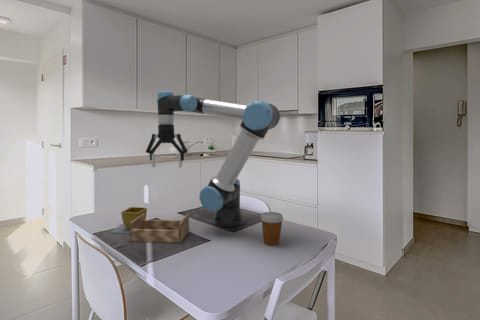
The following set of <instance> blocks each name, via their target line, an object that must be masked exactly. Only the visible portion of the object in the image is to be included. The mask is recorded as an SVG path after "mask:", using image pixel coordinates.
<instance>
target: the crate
mask: <svg viewBox="0 0 480 320" xmlns="http://www.w3.org/2000/svg"><path fill="white" fill-rule="evenodd" d="M189 232H190V214H186V215H185V216H183V218H182V219H181V220H175V219H174V220H172V219H171V220H169V219H145V213H143V214H141V215H140V216H138V217H137V218H136V219H134V220H133V221H131V222H130V234H129V241H130V242H143V243H144V242H145V243H146V242H148V243H149V242H150V243H178V244H179V243H180V244H181V243H182V242H183V241H184V239H185V237H186V236H187V234H188V233H189Z"/></svg>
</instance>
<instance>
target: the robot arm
mask: <svg viewBox="0 0 480 320" xmlns="http://www.w3.org/2000/svg"><path fill="white" fill-rule="evenodd" d="M156 103H157V123H158V125H157V131H158V134H156V133H152V134H151V138H150V141H149V144H148V145H147V147H146V149H145V153H147V154H149V161H151V168H155V167H156V153H155V152H156V150H157V149H158V148H159V147H160V146H161V145H162V144H172V146H173V147H174V148H175V149H176V150H177V151H178V152H179V154H178V168H179V169H180V168H183V161H185V154H186V153H188V148H187V147H186V145H185V143H184V141H183V140H182V135H181V134H180V133H177V134H176V133H175V125H174V123H175V115H174V114H175V112H184V113H185V112H187V113H188V112H189V113H196V114H202V115H203V114H204V115H209V116H215V117H221V118H226V119H229V120H231V119H232V120H236V121H241V122H240V125H239V127H240V133H239V134H238V136H237V138H236V140H235V141H234V144H233V145H232V147H231V148H230V150H229V152H228V154H227V156H226V158H225V159H224V161H223V163H222V164H221V167H220V169H219V171H218V172H217V174H216V175H213V176H212V177H211V179H210V181H209V182H208V184H207V185H206V186H204V187H203V188H202V189H201V190H200V192H199V201H200V204H201V206H202V207H203V208H204V209H205V210H207V211H209V212H215V213H214V216H213V224H214V225H215V226H217V227H222V228H236V227H238V226H239V227H240V226H241V225H243V224H244V217H243V213H242V211H241V181H240V179H238V178H239V175H240V174H241V172H242V170H243V168H244V167H245V165H246V163H247V161H248V160H249V158H250V157H251V154H252V153H253V151H254V149H255V147H256V146H257V143H258V142H259V141H260V140H263V139H265V137H266V134H267V133H268V132H269V130H272V129H274V128H275V127H276V126H277V125H278V124H279V122H280V118H281V114H280V113H281V112H280V111H279V109H278V108H277V106H276V105H274V104H272V103H268V102H265V101H264V100H263V101H262V100H257V101H252V102H249V104H243V103H241V104H240V103H234V102H227V101H222V100H215V99H214V100H213V99H208V98H207V99H206V98H202V97H195V96H194V94H180V95H179V94H178V95H177V94H176V95H174V93H173V92H172V91H170V90H169V91H168V90H166V91H164V90H162V91H161V90H160V91H158V93H157V100H156ZM157 138H158V141H157V142H156V144H155V141H156V139H157ZM175 138H176V139H177V141H178V143H179V144H180V146H179V144H178V143H177V142H176V140H175ZM154 144H155V145H154Z"/></svg>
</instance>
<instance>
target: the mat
mask: <svg viewBox="0 0 480 320" xmlns="http://www.w3.org/2000/svg"><path fill="white" fill-rule="evenodd" d="M109 234H120V235H121V234H124V235H125V234H126V235H127V234H129V235H130V229H127V228H126V227H125V225H124V223H123V222H122V223H121V224H120V225H119V226H117V227H116V228H114V229H113V230H111V231H109Z"/></svg>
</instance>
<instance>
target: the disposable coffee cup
mask: <svg viewBox="0 0 480 320" xmlns="http://www.w3.org/2000/svg"><path fill="white" fill-rule="evenodd" d="M260 220H261V227H262V236H263V243H264V244H265V245H268V246H278V245H279V243H280V238H281V231H282V225H283V221H284V217H283V214H282V213H279V212H275V211H266V212H262V214H261V216H260Z"/></svg>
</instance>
